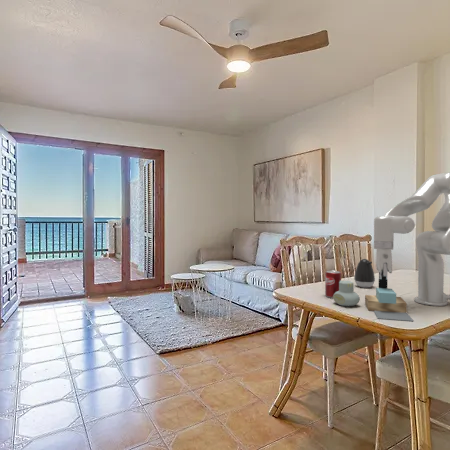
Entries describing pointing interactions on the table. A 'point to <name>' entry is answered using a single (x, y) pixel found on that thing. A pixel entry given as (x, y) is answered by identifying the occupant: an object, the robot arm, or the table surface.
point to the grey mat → (393, 316)
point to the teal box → (385, 295)
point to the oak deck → (385, 305)
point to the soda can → (332, 282)
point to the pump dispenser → (364, 274)
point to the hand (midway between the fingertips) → (382, 288)
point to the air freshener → (346, 294)
